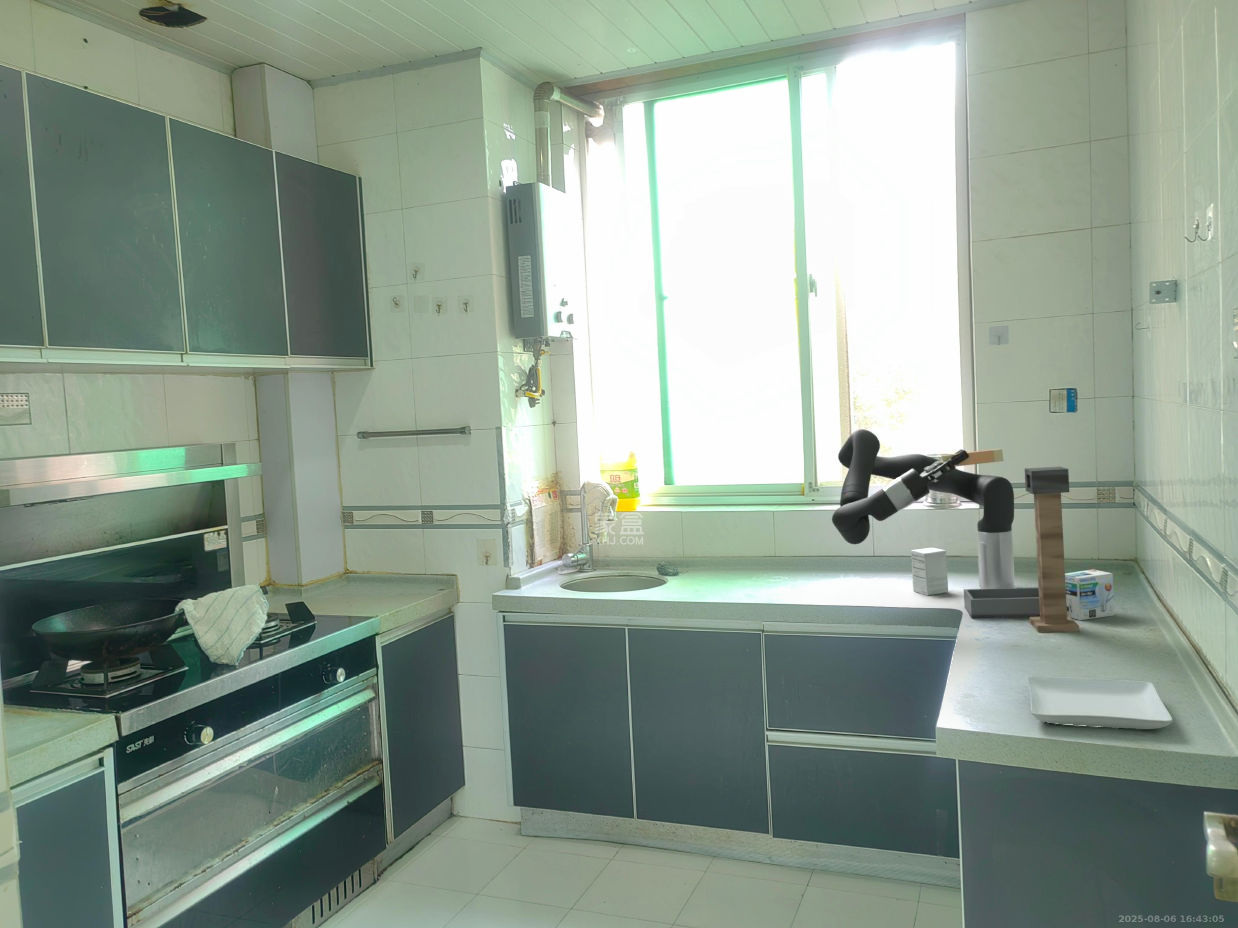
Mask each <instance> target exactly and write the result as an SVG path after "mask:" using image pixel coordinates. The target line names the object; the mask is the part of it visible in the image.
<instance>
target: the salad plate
mask: <svg viewBox="0 0 1238 928" xmlns="http://www.w3.org/2000/svg"><path fill="white" fill-rule="evenodd" d="M1025 680H1026V684H1027V687H1028V692H1029V700H1030V702H1029V703H1030V704H1029V707H1030V713H1031V714H1032V716H1033V717H1034V718H1035V719H1036V720H1038V721H1040V722H1043V723H1045V722H1047V723H1046V724H1049V723H1058V724H1073V725H1086V726H1101V727H1102V726H1103V727H1118V728H1136V729H1135V730H1156V729H1160V728H1165V727H1168V726H1169V725H1170V724H1171V723H1172V722H1173V717H1172V715H1171V713H1170V712H1169V710H1168V709H1167V707H1166V706H1165V703H1164V702H1163V700H1162V699H1161V697H1160V695H1159V693H1158V692H1157V690H1156V687H1155V686H1154V684H1153V683H1152V682H1150V681H1141V680H1128V679H1127V680H1124V679H1113V678H1112V679H1110V678H1093V677H1090V678H1089V677H1070V676H1067V677H1066V676H1063V677H1062V676H1037V675H1035V676H1034V675H1033V676H1032V675H1029V676H1027V677H1025ZM1118 728H1117V729H1118Z"/></svg>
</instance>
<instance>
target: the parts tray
mask: <svg viewBox="0 0 1238 928" xmlns="http://www.w3.org/2000/svg"><path fill="white" fill-rule="evenodd" d="M963 603H964V609H965V610H966V612H967V613H968V616H969V617H970V619H971V620H978V619H979V620H982V619H984V620H985V619H988V620H989V619H1024V618H1025V619H1028V618H1029V619H1030V617H1040V606H1039V587H1038V586H1037V587H1015V588H995V589H981V588H967V589H965V588H963Z"/></svg>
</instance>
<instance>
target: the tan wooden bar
mask: <svg viewBox="0 0 1238 928" xmlns="http://www.w3.org/2000/svg"><path fill="white" fill-rule="evenodd" d="M966 452H967V453H968V455H969V458H967V459H966V460H964V461H962V462H961V463H959V464H958V465H957V466H956V467H962V466H963V467H964V466H972V465H981V464H987V463H988V464H989V463H999V462H1004V455H1003V449H1002V448H992V449H982V450H976V451H975V450H974V451H966ZM957 454H958V453H957ZM955 455H956V454H954V453H949V454H942V455H941V459H942V462H944V461H946V460H948V458H951V457H953V456H955ZM945 467H946V468H947V467H949V466H948V465H945Z"/></svg>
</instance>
